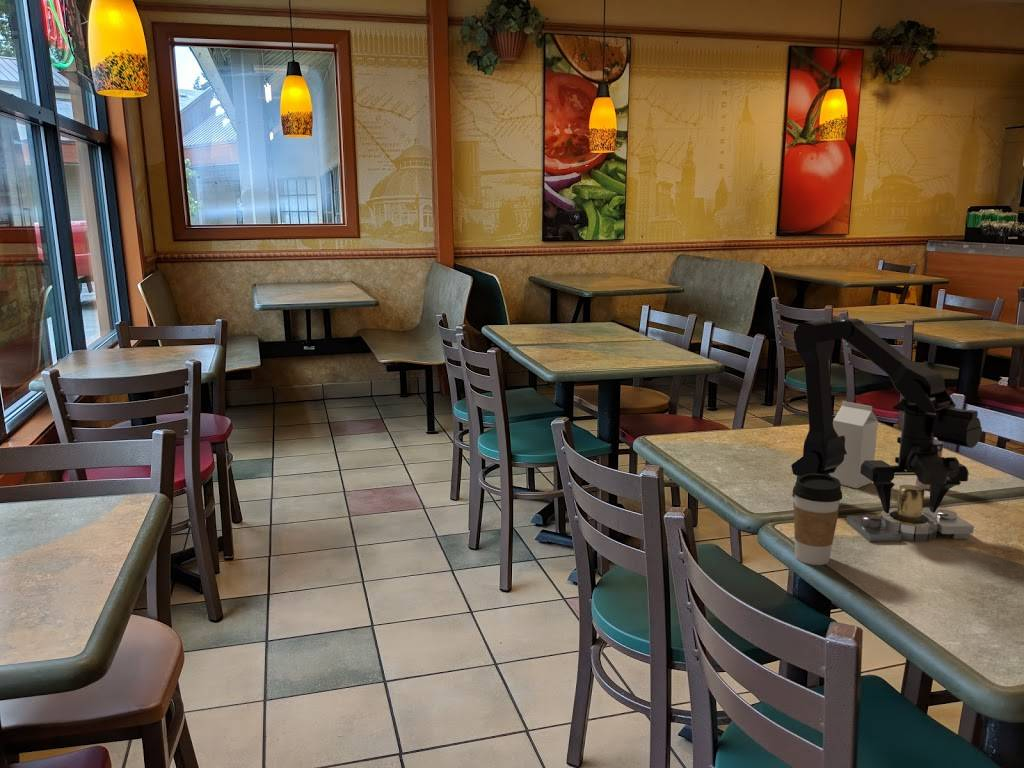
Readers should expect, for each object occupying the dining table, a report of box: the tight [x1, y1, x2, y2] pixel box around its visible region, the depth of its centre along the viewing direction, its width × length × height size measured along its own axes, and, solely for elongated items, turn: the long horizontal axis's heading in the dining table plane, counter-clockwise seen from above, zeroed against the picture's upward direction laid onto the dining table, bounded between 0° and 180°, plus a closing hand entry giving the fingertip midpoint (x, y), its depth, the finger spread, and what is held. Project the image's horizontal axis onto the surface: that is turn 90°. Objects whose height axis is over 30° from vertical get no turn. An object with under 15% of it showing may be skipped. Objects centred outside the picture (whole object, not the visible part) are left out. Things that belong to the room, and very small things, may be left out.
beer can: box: [914, 437, 944, 491], centre depth 183 cm, size 5×5×12 cm
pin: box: [896, 484, 926, 524], centre depth 157 cm, size 4×4×9 cm
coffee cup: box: [792, 474, 843, 566], centre depth 144 cm, size 8×8×15 cm
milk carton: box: [829, 400, 879, 489], centre depth 185 cm, size 7×7×19 cm
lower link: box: [846, 513, 938, 543], centre depth 157 cm, size 15×10×3 cm, turn 92°
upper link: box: [880, 507, 975, 540], centre depth 157 cm, size 15×10×4 cm, turn 92°
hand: (909, 512), depth 157 cm, fingers open, 9 cm apart
